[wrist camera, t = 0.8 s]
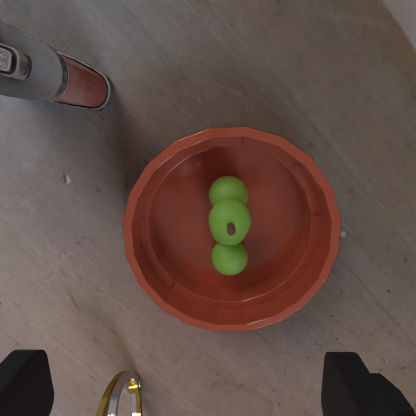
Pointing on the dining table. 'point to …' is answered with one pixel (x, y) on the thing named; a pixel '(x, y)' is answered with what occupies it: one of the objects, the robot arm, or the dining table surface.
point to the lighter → (48, 73)
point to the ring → (114, 392)
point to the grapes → (229, 224)
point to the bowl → (254, 240)
